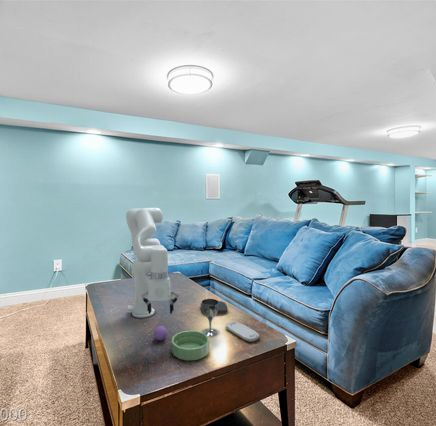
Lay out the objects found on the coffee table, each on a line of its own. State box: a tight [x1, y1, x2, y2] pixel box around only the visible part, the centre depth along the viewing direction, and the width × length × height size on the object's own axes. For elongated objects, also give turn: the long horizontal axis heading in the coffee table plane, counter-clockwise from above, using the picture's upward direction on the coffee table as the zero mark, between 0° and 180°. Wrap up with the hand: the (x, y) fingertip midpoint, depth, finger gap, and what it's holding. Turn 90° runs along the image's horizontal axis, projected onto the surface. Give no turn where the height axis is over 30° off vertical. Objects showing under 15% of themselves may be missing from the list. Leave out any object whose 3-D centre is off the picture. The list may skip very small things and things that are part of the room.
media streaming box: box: [200, 300, 228, 315], centre depth 157 cm, size 15×15×3 cm
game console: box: [225, 321, 260, 343], centre depth 128 cm, size 18×2×8 cm
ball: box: [153, 325, 168, 341], centre depth 123 cm, size 6×6×6 cm
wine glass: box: [201, 298, 219, 337], centre depth 129 cm, size 8×8×15 cm
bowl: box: [171, 329, 210, 361], centre depth 114 cm, size 16×16×5 cm
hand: (160, 312), depth 123 cm, fingers open, 9 cm apart
